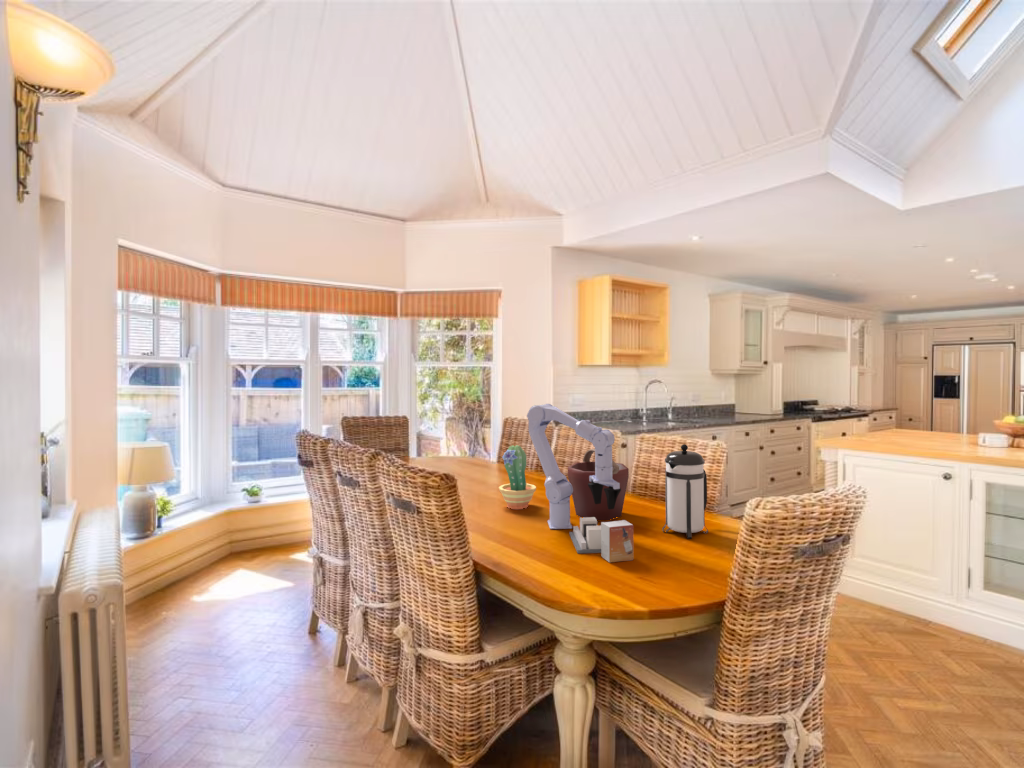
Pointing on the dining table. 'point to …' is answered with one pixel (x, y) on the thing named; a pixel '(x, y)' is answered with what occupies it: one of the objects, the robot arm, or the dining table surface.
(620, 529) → the small box
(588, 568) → the dining table surface
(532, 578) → the dining table surface
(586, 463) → the bucket
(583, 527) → the block
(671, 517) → the coffee press
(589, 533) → the rail plate
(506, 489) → the potted cactus
